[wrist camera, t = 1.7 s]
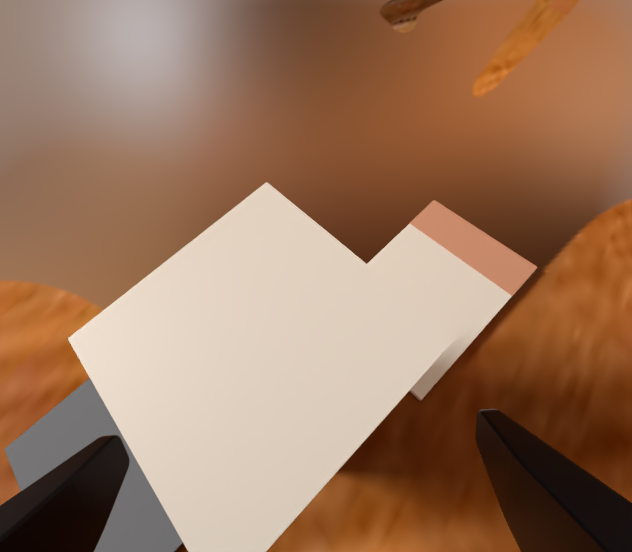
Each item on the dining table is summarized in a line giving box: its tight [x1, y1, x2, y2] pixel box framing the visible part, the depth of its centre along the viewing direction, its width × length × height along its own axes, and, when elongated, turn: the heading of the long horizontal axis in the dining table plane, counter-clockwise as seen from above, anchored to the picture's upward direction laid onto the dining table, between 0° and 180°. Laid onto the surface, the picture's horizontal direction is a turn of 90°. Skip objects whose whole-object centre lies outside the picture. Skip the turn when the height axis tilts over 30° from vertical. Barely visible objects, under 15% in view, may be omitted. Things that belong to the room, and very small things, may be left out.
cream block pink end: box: [367, 200, 537, 401], centre depth 18 cm, size 10×7×1 cm
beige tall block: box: [68, 182, 456, 552], centre depth 11 cm, size 5×5×13 cm
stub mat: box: [5, 378, 183, 552], centre depth 17 cm, size 10×10×1 cm
